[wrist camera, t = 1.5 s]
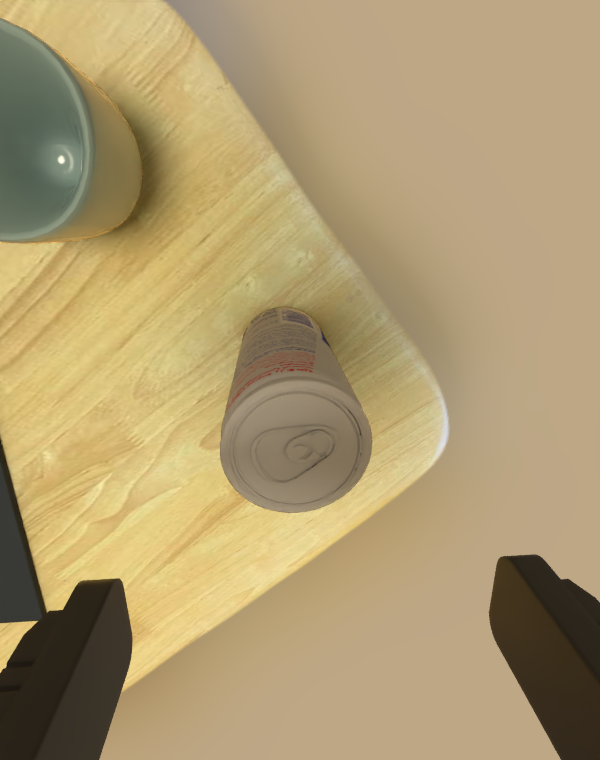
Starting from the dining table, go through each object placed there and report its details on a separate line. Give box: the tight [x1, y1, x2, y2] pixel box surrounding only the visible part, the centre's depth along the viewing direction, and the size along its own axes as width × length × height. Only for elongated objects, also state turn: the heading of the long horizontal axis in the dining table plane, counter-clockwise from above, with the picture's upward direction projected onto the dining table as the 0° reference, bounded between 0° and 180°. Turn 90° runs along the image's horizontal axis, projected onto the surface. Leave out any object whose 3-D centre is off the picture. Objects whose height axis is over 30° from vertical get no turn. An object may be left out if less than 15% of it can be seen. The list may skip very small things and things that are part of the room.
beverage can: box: [220, 307, 372, 513], centre depth 23 cm, size 6×6×15 cm
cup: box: [0, 18, 143, 244], centre depth 21 cm, size 8×8×10 cm
